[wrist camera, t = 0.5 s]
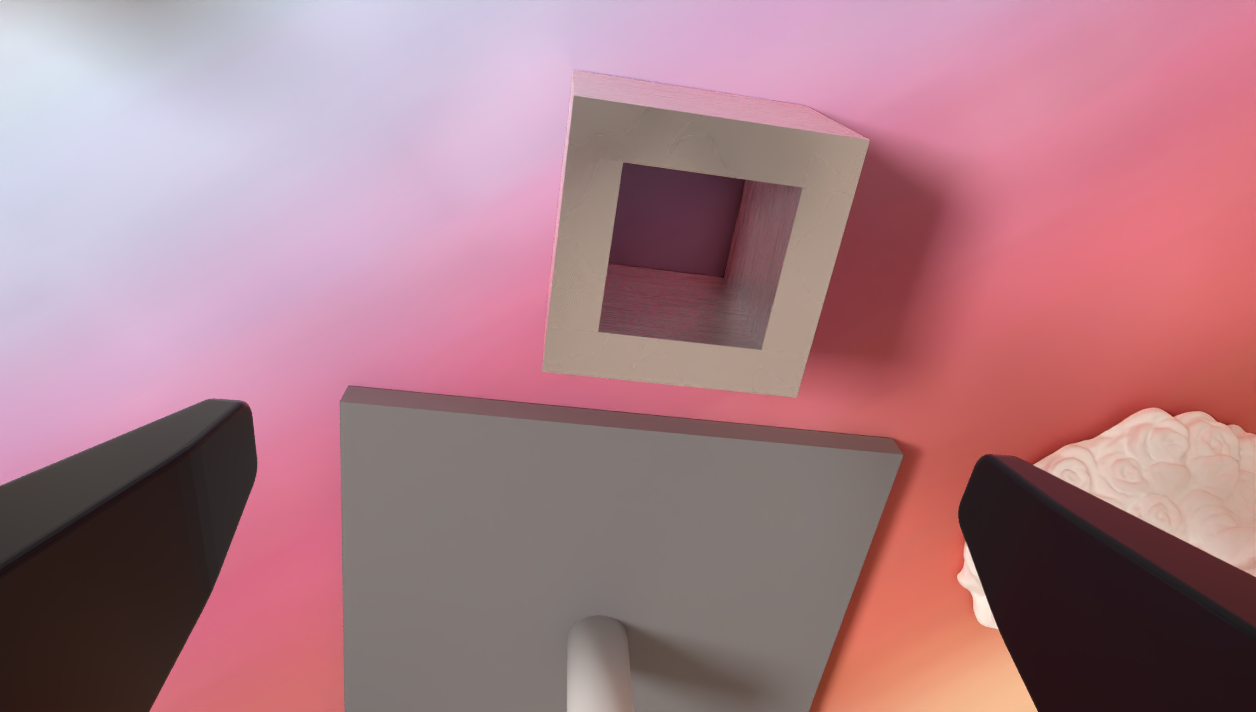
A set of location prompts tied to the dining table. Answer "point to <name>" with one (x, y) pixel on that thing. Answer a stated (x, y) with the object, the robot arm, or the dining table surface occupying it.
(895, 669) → the dining table surface
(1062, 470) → the cherub figurine
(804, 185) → the grey hollow square block
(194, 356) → the dining table surface
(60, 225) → the dining table surface
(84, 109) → the dining table surface
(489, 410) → the post plate
